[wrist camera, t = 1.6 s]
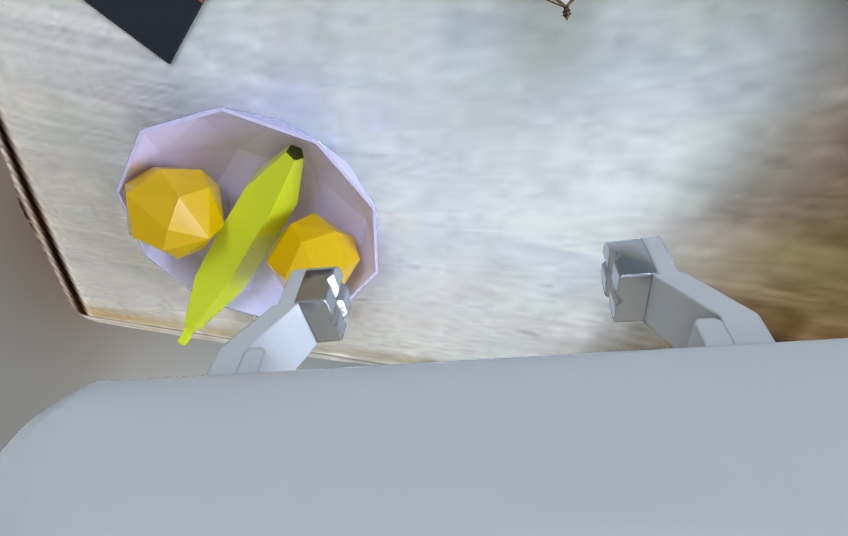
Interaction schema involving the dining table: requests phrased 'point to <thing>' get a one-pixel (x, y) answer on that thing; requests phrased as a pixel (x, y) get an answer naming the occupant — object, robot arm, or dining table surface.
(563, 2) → the game die
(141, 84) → the dining table surface
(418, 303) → the dining table surface
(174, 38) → the mat
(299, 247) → the fruit bowl
